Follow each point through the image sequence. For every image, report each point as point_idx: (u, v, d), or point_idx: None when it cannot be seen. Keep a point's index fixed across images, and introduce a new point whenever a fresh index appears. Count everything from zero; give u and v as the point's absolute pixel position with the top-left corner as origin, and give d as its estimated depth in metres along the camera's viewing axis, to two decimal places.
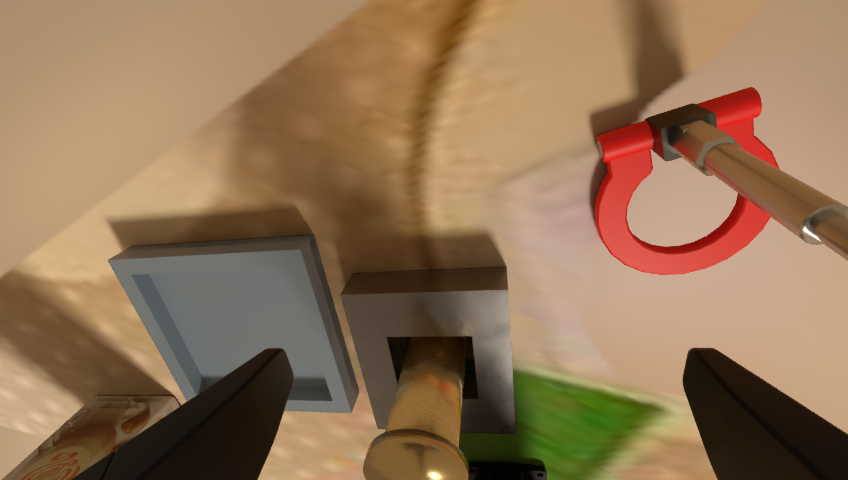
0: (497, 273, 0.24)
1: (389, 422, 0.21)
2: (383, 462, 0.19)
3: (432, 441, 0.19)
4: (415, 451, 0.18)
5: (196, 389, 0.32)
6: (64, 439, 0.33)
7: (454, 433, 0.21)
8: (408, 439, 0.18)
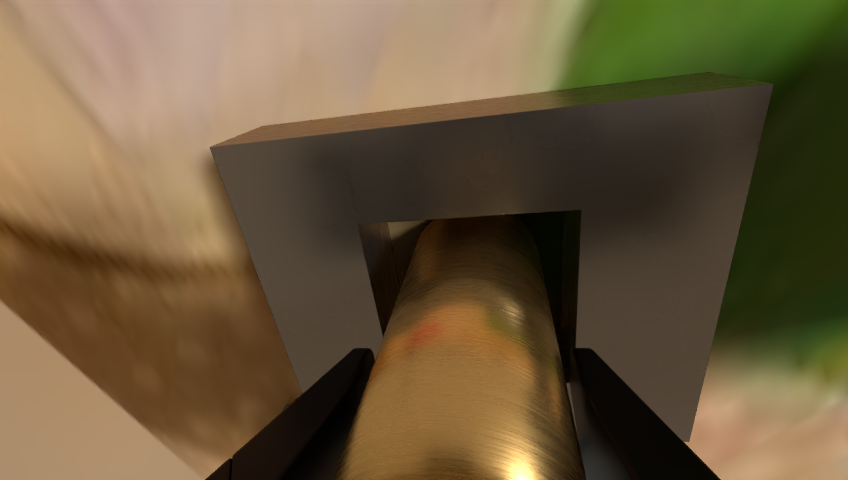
0: None
1: None
2: None
3: None
4: None
5: None
6: None
7: (395, 427, 0.05)
8: None
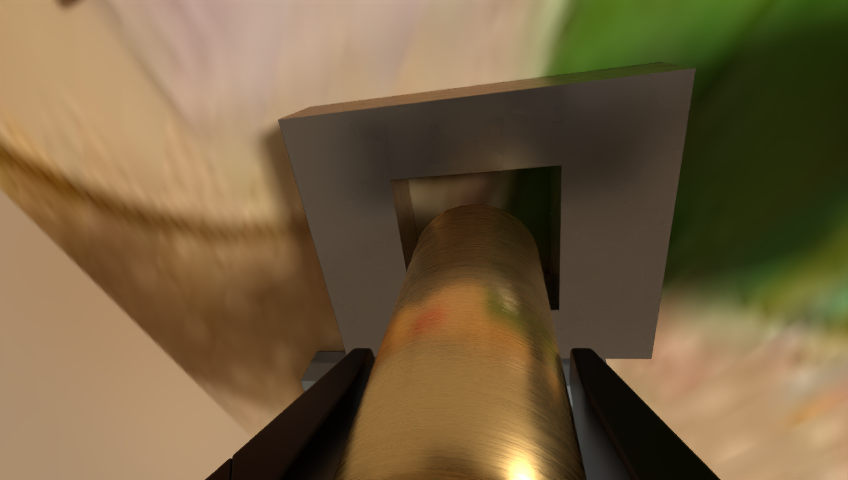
0: None
1: None
2: None
3: None
4: None
5: None
6: None
7: (395, 426, 0.06)
8: None
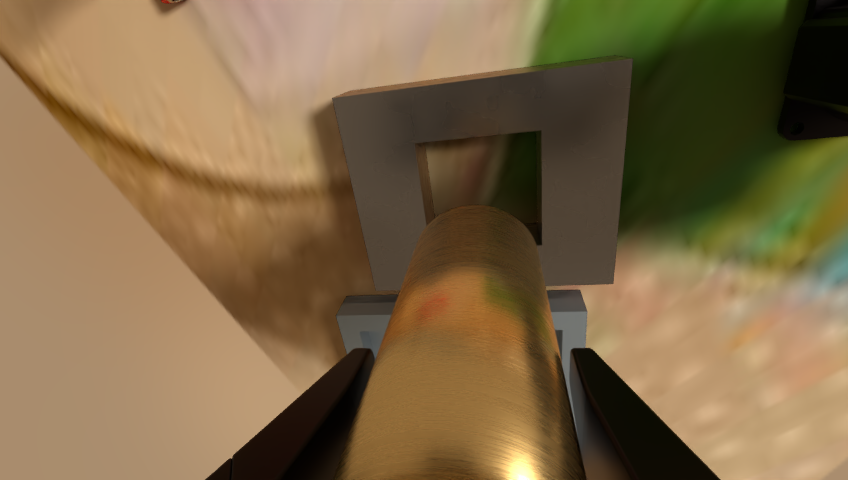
0: None
1: None
2: None
3: None
4: None
5: None
6: None
7: (395, 427, 0.05)
8: None
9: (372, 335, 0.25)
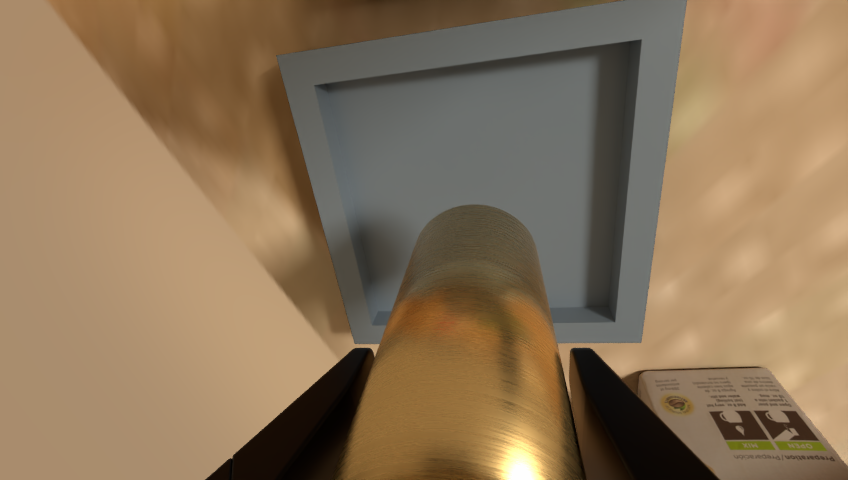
0: None
1: None
2: None
3: None
4: None
5: (598, 319, 0.18)
6: None
7: (394, 428, 0.05)
8: None
9: (337, 114, 0.17)
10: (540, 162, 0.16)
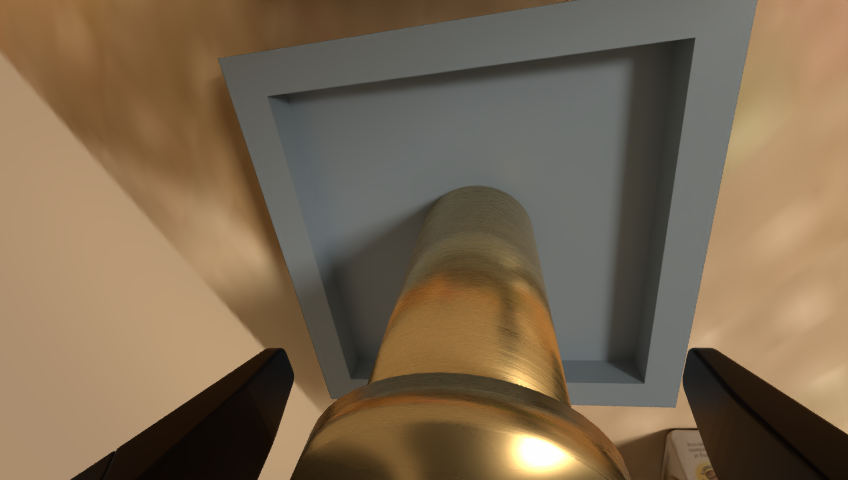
0: None
1: None
2: None
3: None
4: None
5: (623, 378, 0.15)
6: None
7: (414, 347, 0.07)
8: None
9: (302, 131, 0.14)
10: (554, 191, 0.13)
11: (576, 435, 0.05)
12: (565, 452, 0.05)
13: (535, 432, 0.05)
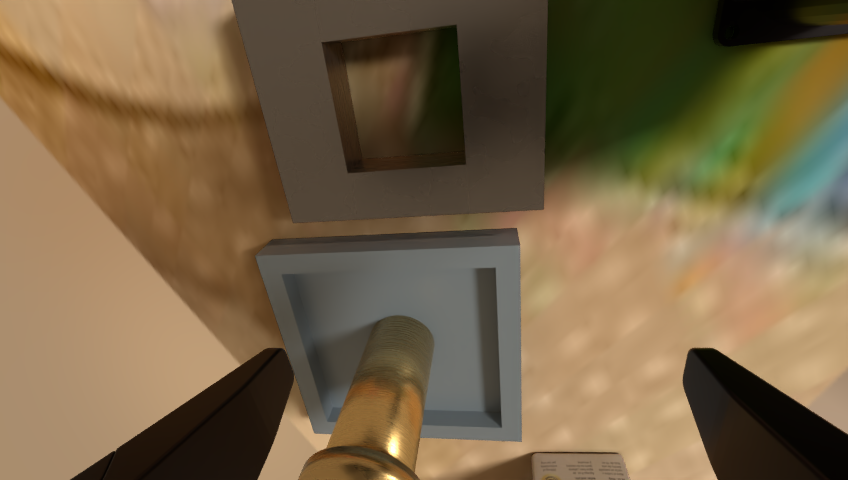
0: None
1: None
2: None
3: (299, 477, 0.16)
4: None
5: (491, 424, 0.25)
6: None
7: (347, 429, 0.17)
8: None
9: (299, 282, 0.23)
10: (443, 321, 0.23)
11: (393, 469, 0.15)
12: (386, 474, 0.15)
13: (377, 468, 0.15)
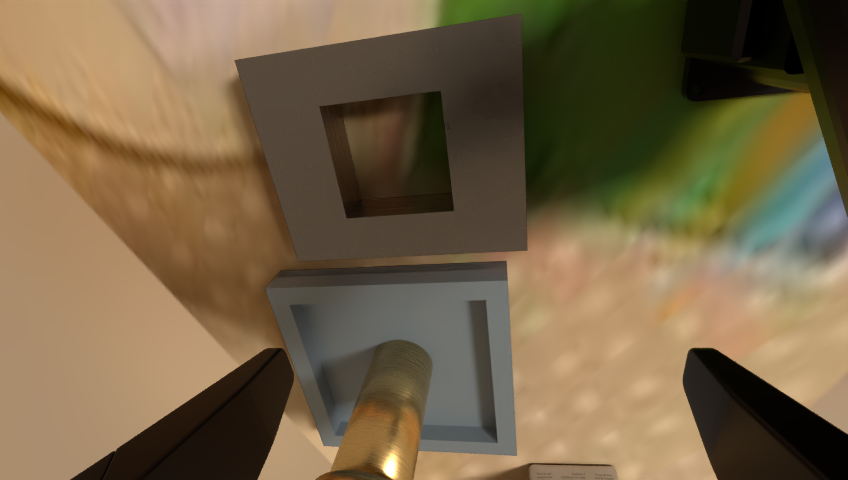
0: None
1: None
2: None
3: None
4: None
5: (487, 439, 0.27)
6: None
7: (349, 452, 0.19)
8: None
9: (306, 310, 0.25)
10: (440, 345, 0.25)
11: None
12: None
13: None
